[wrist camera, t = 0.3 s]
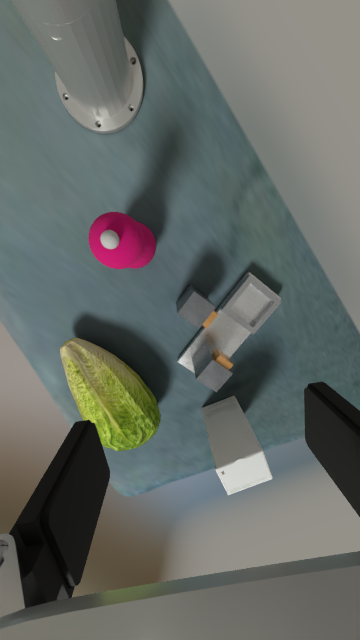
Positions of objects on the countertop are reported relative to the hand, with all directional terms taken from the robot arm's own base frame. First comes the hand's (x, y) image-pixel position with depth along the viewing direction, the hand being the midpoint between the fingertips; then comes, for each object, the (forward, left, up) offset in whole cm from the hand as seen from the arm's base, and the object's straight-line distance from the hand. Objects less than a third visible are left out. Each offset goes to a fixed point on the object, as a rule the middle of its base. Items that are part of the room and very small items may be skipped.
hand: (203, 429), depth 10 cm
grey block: (+3, +1, -35) cm, 35 cm away
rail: (+12, 0, -35) cm, 37 cm away
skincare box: (+24, -15, -35) cm, 45 cm away
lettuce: (0, -22, -35) cm, 42 cm away
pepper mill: (-11, +3, -35) cm, 37 cm away
